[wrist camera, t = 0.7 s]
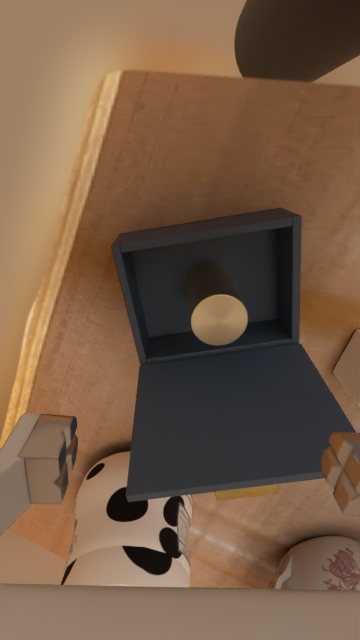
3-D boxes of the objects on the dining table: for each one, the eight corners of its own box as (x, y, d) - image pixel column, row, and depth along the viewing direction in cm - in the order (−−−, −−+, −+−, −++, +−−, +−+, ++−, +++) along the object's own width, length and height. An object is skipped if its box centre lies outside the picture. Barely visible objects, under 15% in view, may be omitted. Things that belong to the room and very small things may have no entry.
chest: (119, 233, 35) (110, 246, 30) (281, 207, 34) (301, 215, 29) (144, 340, 41) (140, 366, 36) (282, 320, 40) (299, 344, 35)
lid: (125, 496, 23) (140, 531, 25) (377, 465, 22) (365, 504, 24) (139, 366, 35) (148, 398, 37) (300, 343, 34) (298, 378, 37)
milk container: (65, 487, 53) (18, 630, 37) (119, 422, 47) (93, 559, 31) (152, 522, 58) (145, 662, 41) (211, 467, 52) (230, 606, 35)
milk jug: (392, 577, 68) (476, 732, 49) (266, 600, 71) (300, 755, 53) (389, 497, 56) (497, 662, 37) (237, 529, 59) (267, 697, 41)
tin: (182, 264, 36) (187, 299, 27) (227, 258, 35) (246, 290, 26) (189, 305, 38) (194, 349, 29) (230, 299, 38) (249, 341, 29)
